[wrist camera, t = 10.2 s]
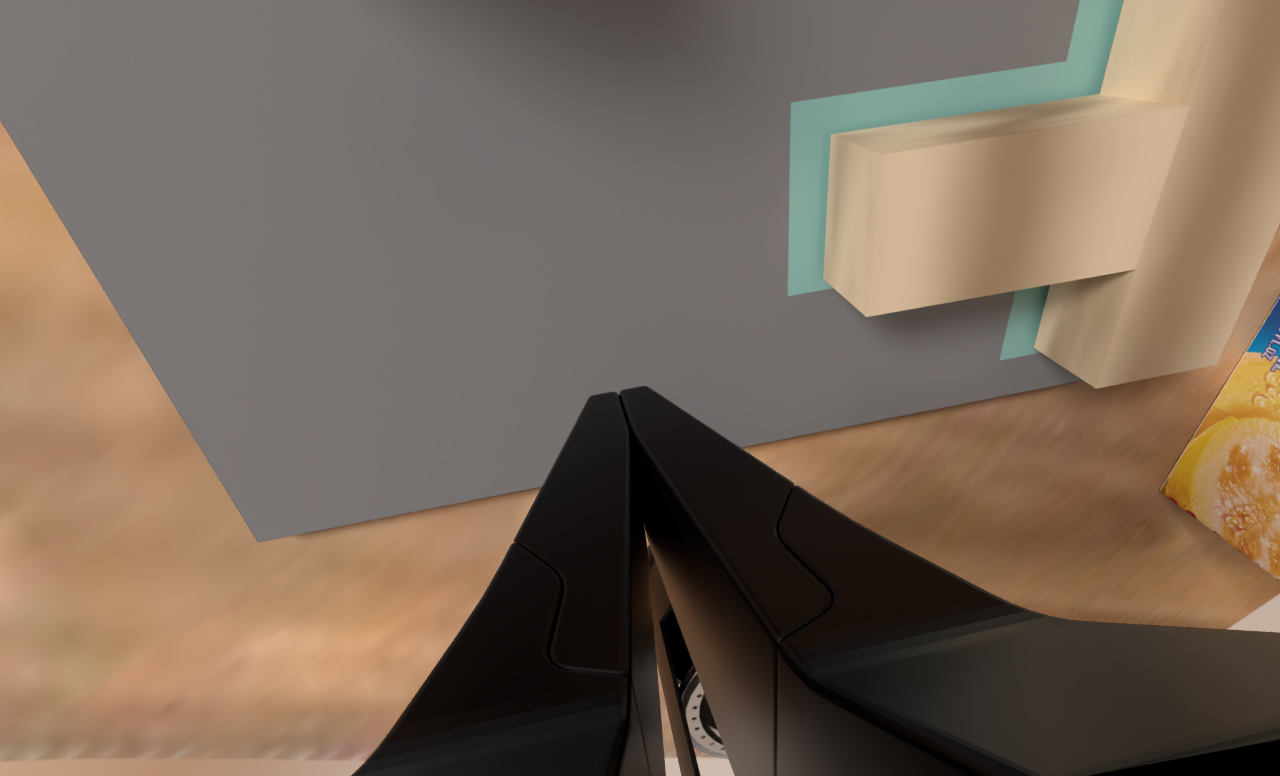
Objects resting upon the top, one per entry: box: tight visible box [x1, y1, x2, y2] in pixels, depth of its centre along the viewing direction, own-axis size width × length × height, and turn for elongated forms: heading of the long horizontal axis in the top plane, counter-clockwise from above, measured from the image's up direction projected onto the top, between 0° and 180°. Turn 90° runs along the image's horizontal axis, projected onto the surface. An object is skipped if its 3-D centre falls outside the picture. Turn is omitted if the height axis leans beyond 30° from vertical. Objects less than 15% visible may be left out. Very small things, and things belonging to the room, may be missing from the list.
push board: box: [0, 0, 1124, 542], centre depth 20 cm, size 36×18×1 cm, turn 97°
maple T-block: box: [823, 0, 1280, 389], centre depth 19 cm, size 13×13×3 cm
